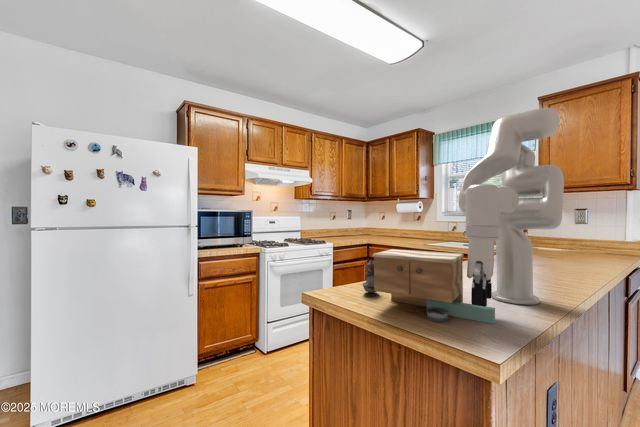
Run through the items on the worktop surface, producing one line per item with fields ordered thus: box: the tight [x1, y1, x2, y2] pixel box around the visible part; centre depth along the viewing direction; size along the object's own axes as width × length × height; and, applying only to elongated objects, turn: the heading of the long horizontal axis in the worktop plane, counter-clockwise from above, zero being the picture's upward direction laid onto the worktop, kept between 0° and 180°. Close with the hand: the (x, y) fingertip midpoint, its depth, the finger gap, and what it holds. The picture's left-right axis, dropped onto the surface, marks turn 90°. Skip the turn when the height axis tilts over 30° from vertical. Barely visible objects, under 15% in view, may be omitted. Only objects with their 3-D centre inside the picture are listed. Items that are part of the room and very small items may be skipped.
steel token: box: [426, 308, 449, 324], centre depth 74 cm, size 5×5×2 cm
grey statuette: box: [362, 259, 380, 298], centre depth 98 cm, size 6×6×12 cm
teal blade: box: [426, 299, 496, 324], centre depth 77 cm, size 2×16×4 cm, turn 54°
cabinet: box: [372, 248, 465, 308], centre depth 81 cm, size 15×21×16 cm
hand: (481, 301), depth 74 cm, fingers open, 9 cm apart
